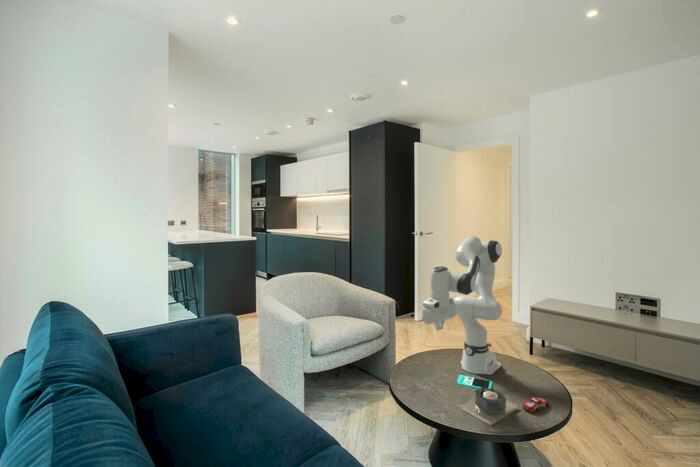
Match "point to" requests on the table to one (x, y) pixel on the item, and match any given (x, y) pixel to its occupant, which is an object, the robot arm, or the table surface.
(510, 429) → the table surface
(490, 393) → the halved boiled egg
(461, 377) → the handheld game console
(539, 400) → the race car
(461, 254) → the robot arm
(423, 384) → the table surface
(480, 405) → the grey socket on board
